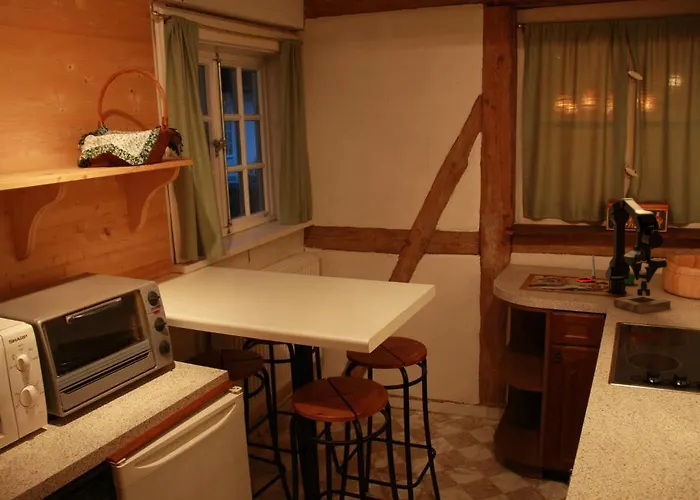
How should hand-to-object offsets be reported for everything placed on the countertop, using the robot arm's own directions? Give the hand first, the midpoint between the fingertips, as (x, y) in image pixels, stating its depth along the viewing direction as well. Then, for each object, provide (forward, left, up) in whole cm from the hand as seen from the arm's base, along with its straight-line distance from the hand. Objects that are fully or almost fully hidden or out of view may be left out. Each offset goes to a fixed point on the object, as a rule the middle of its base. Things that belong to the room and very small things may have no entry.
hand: (642, 281), depth 271 cm
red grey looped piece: (-49, +15, -11) cm, 52 cm away
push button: (0, 0, -6) cm, 6 cm away
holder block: (0, 0, -11) cm, 11 cm away
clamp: (-36, +27, -11) cm, 47 cm away
